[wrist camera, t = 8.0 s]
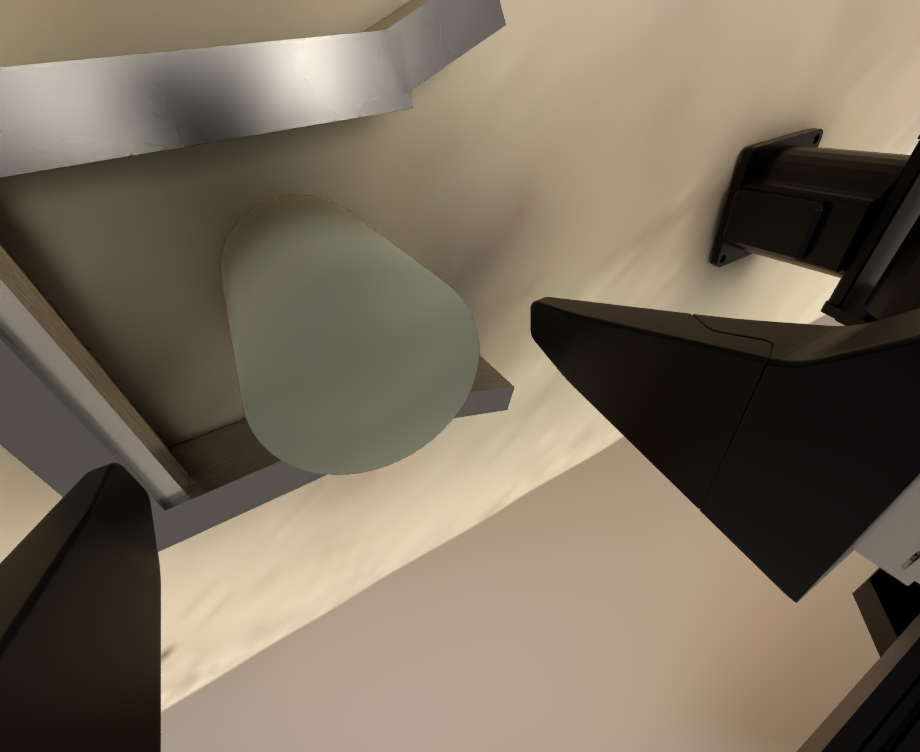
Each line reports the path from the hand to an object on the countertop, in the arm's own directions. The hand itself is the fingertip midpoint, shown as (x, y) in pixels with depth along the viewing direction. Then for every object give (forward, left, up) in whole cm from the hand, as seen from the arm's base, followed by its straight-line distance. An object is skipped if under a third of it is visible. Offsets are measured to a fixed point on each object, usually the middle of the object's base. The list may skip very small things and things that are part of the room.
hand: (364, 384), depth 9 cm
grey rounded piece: (0, 0, -7) cm, 7 cm away
